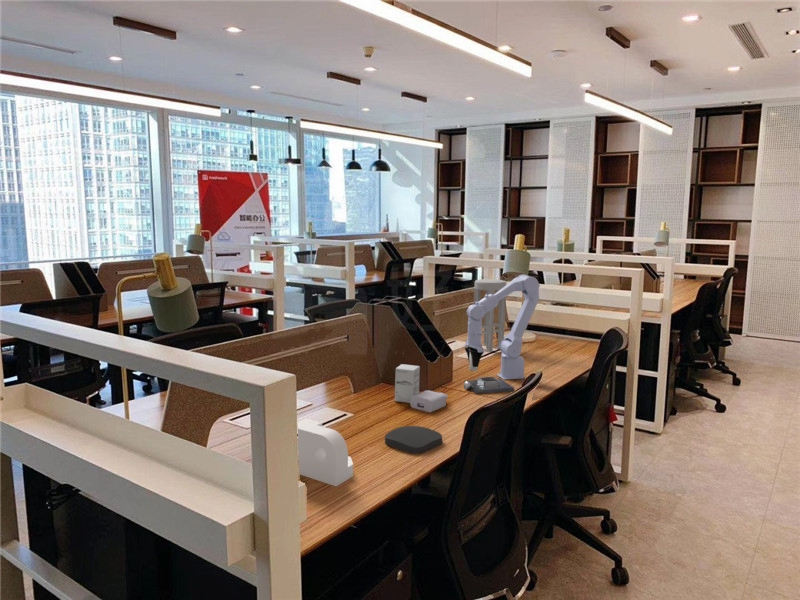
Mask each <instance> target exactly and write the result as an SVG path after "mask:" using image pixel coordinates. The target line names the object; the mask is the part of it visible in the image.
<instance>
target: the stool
mask: <svg viewBox="0 0 800 600" xmlns="http://www.w3.org/2000/svg"><path fill="white" fill-rule="evenodd" d="M506 285H507V281H505V280H501V279H492V278H487V279H486V278H485V279H483V278H482V279H475V281H474V287H473V289H474V290H473V291H474V293H473V294H474V295H473V305H475V304H476V303H475V302H479V301H480V300H481V292H482V291H485V295H486V294H487V295H489V294H493V295H494V294H495V293H496V292H497V291H499V290H501V289H502V288H503V287H505V286H506ZM506 299H507V296H506V297H504V298H503V299H501V300H499V302H498V322H497V323H494V321H495V320H494V319H495V307H494V308H493V309H491V310H490V311H488V312H487V313H486V314H484V323H483V324H484V325H483V324H482V329H483V330H482V334H481V335H483V346H486V347H485V348H486V349H485V350H486V352H493V348H494V347H493V346H494V333H497V346H496V347H497V349H499V350H500V343H501V342H502V341H503V340H504V339H505V325H506V324H505V321H506V319H505V318H506ZM494 327H497V329H495V328H494Z"/></svg>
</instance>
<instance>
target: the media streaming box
mask: <svg viewBox="0 0 800 600" xmlns="http://www.w3.org/2000/svg"><path fill="white" fill-rule="evenodd" d="M384 443H385V445H387V446H389V447H392V448H395V450H396V449H397V450H400V451H403V452H406V453H409V454H418V455H419V454H423V453H426V452H428V451H430V450H433V449H435V448H437V447H438V446H440V445H442V444H443V435H442V434H441V433H440V432H439V431H436V430H434V429H431V428H428V427H424V426H419V425H418V426H417V425H408V426H406V425H405V426H400V427H397V428H394V429H391V430H390V431H389V432H388V433H386V434H385V435H384Z"/></svg>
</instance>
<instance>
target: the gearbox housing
mask: <svg viewBox="0 0 800 600" xmlns="http://www.w3.org/2000/svg"><path fill="white" fill-rule="evenodd" d="M463 388H464V390H466V391H467V390H470V391H471V392H473V394H475V395H478V394H481V395H482V394H493V393H495V394H497V393H511V392H515V387H514V386H512V384H509V383H508V382H506V381H505V380H504V379H503V378H496V377H495V376H481V377H477V379H474V380H463Z"/></svg>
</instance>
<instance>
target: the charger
mask: <svg viewBox="0 0 800 600" xmlns="http://www.w3.org/2000/svg"><path fill="white" fill-rule="evenodd" d="M447 399H449V396H448V393H447V394H446V393H444V392H437V391H433V390H424V391H421V392H419V393H418V394H416V395H413V396H411V403H410V407H411V408H412V409H417V410H418V411H422V412H425V413H432V412H435V411H437V410H440V409H442V408H444V407H446V404H447Z"/></svg>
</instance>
